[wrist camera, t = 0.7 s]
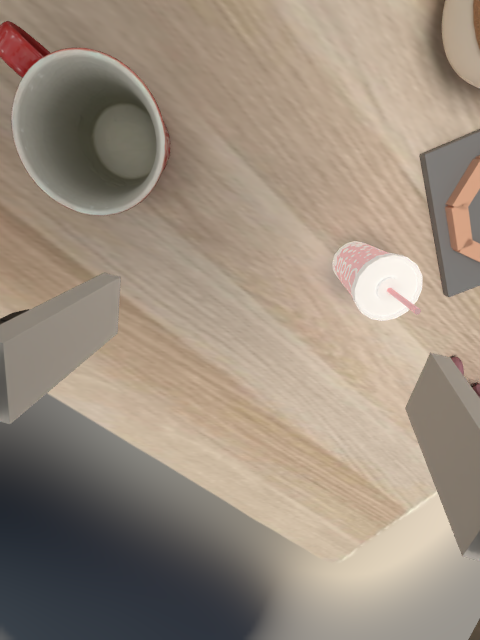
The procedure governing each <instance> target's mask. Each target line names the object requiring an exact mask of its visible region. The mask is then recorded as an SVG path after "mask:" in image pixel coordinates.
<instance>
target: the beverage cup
mask: <svg viewBox="0 0 480 640" xmlns="http://www.w3.org/2000/svg"><path fill="white" fill-rule="evenodd" d="M332 263H333V271H334V272H335V274H336V276H337V277H338V279H339V280H340V281H341V283H342V284H343V285H344V286H345V288H346V289H347V290H348V292H349V293H350V294H351V296H352V297H353V301H354V302H355V304H356V306H357V308H358V309H359V310H360V312H361V313H363V314H364V315H366V316H367V317H369V318H370V319H374V320H380V321H385V320H390V319H395V318H397V317H399V316H401V315H402V314H404V313H406V312H407V311H408V310H409V309H410V310H411V311H412V312H414V313H415V314H419V313H420V312H421V310H420V309H419V308H418V307H416V306H415V305H414V304H415V303H416V301H417V300H418V297H419V295H420V292H421V290H422V274H421V272H420V270H419V268H418V265H417V264H415V263H414V262H413V261H411V260H410V259H409V258H408V257H405V256H403V255H398V254H393V253H388V252H385V251H383V250H380V249H378V248H375V247H373V246H371V245H368V244H366V243H363V242H358V241H354V242H349V243H346V244H345V245H343V246H342V247H340V248H339V250H338V251H337V252H336V254H335V256H334V259H333V262H332Z"/></svg>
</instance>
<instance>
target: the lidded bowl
mask: <svg viewBox="0 0 480 640" xmlns="http://www.w3.org/2000/svg"><path fill="white" fill-rule="evenodd" d="M442 40H443V45H444V50H445V53H446V56H447V59H448V61H449V63H450V64H451V66H452V68H453V69H454V71H455V72H456V73H457V74H458V75H459V76H460V77H461V78H462V79H463V80H465V81H466V82H467V83H469V84H471V85H473V86H475V87H477V88H479V89H480V0H445V4H444V9H443V16H442Z"/></svg>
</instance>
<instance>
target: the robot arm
mask: <svg viewBox="0 0 480 640" xmlns="http://www.w3.org/2000/svg"><path fill="white" fill-rule="evenodd" d="M120 281H121V277H120V276H115V275H111V274H107V273H103V274H101V275H99V276H96V277H94V278H92V279H90V280H88V281H86V282H84V283H82V284H80V285H78V286H76V287H74V288H72V289H70V290H68V291H66V292H64V293H62V294H60V295H58V296H56V297H54V298H52V299H50V300H48V301H46V302H44V303H42V304H40V305H38V306H36V307H34V308H32V309H30V310H29V309H28V310H24V311H19V312H15V313H12V314H10V315H7V316H5V317H3V318H1V319H0V421H1V422H4V423H8V424H11V423H12V422H13V421H14V420H15V419H17V418H18V417H19V416H20V415H21V414H22V413H24V412H25V411H26V410H27V409H28V408H30V407H31V406H32V405H33V404H34V403H36V402H37V401H38V400H39V399H40V398H42V396H44V395H45V394H46V393H47V392H49V391H50V390H51V389H52V388H53V387H55V386H56V385H57V384H58V383H59V382H60V381H62V380H63V379H64V378H65V377H66V376H68V375H69V374H70V373H71V372H72V371H74V370H75V369H76V368H77V367H78V366H79V365H81V364H82V363H83V362H84V361H85V360H87V359H88V358H89V357H90V356H91V355H92V354H94V353H95V352H96V351H97V350H98V349H100V348H101V347H102V346H103V345H104V344H105V343H107V342H108V341H109V340H110V339H111V338H113V337H114V336H115V335H116V334H117V332H118V315H119V298H120ZM405 409H406V412H407V414H408V417H409V419H410V422H411V425H412V427H413V430H414V432H415V435H416V437H417V440H418V443H419V445H420V448H421V450H422V453H423V456H424V458H425V461H426V463H427V466H428V469H429V471H430V474H431V476H432V479H433V482H434V484H435V487H436V489H437V492H438V494H439V497H440V500H441V502H442V505H443V507H444V510H445V513H446V515H447V518H448V520H449V523H450V525H451V528H452V531H453V533H454V536H455V538H456V541H457V544H458V546H459V549H460V551H461V554H462V556H463V557H466V558H470V559H473V560H477V561H480V398H479V396H478V395H477V394H476V392H475V391H474V390H473V388H472V387H471V385H470V384H469V383H468V381H467V380H466V379H465V377H464V376H463V374H462V373H461V372H460V370H459V369H458V368H457V366H456V365H455V363H454V362H453V361H452V359H451V358H450V357H446V356H442V355H438V354H434V353H430V355H429V357H428V359H427V361H426V364H425V366H424V368H423V370H422V372H421V375H420V377H419V379H418V381H417V383H416V386H415V388H414V390H413V392H412V394H411V397H410V399H409V401H408V403H407V405H406V408H405ZM469 640H480V619H479V621H478V623H477V625H476V627H475V628H474V630H473V632H472V634H471V636H470V638H469Z"/></svg>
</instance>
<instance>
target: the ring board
mask: <svg viewBox="0 0 480 640" xmlns="http://www.w3.org/2000/svg"><path fill="white" fill-rule="evenodd" d="M420 160H421V166H422V171H423V177H424V183H425V189H426V194H427V200H428V206H429V212H430V218H431V223H432V229H433V235H434V241H435V246H436V252H437V258H438V264H439V269H440V275H441V281H442V287H443V293H444V295H446V296H448V297H451V296H453V295H456V294H459V293H461V292H464V291H466V290H469V289H472V288H474V287H477V286H479V285H480V129H479V130H477V131H474V132H472V133H470V134H467V135H465V136H463V137H460V138H458V139H456V140H453V141H451V142H448V143H446V144H444V145H441V146H439V147H437V148H434V149H432V150H429V151H427V152H425V153H422V154H420Z"/></svg>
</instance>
